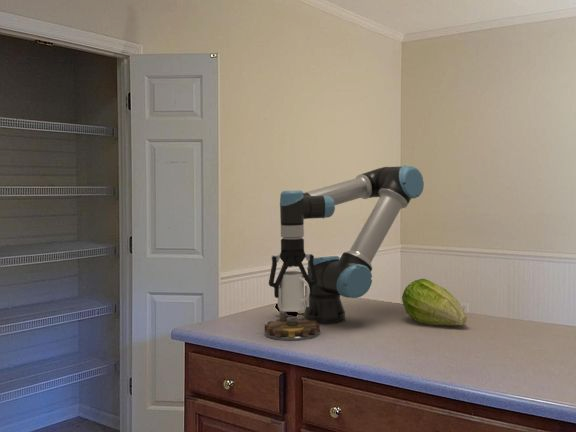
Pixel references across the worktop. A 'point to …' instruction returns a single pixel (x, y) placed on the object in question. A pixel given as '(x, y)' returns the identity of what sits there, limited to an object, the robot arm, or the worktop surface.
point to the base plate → (296, 338)
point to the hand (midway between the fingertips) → (293, 306)
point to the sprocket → (291, 326)
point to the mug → (293, 291)
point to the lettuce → (432, 304)
